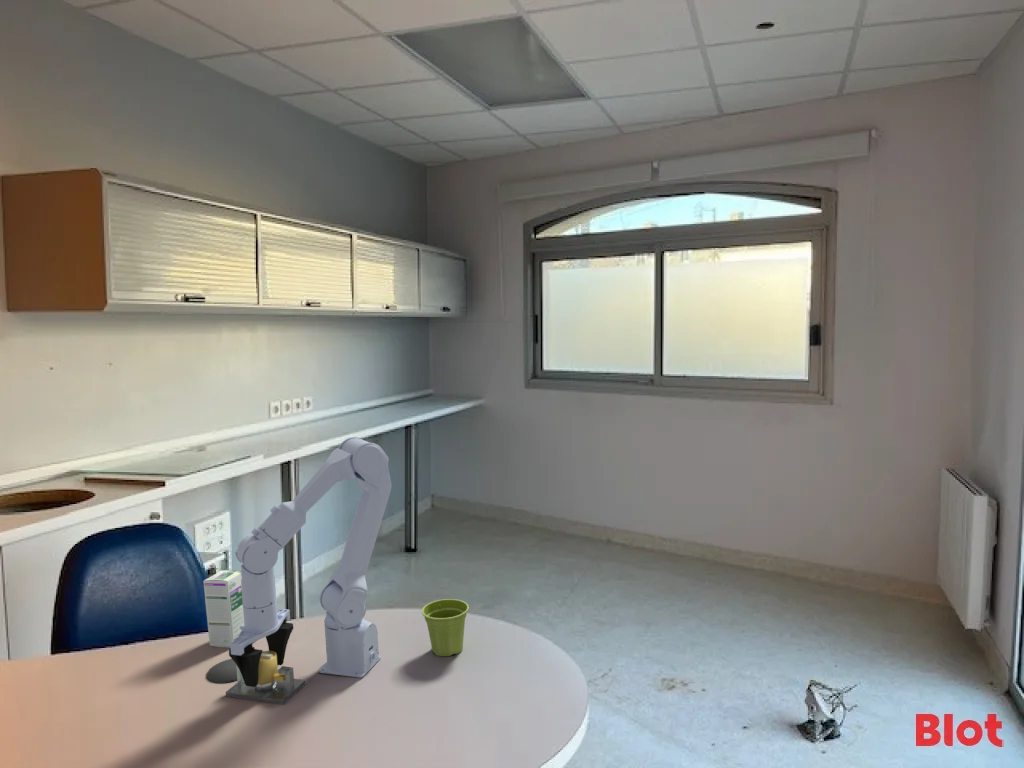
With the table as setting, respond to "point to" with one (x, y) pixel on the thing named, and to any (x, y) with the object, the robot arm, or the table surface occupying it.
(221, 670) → the mat
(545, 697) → the table surface
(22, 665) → the table surface
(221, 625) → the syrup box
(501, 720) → the table surface
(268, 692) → the grey plate with posts
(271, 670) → the cap
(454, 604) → the plant pot
